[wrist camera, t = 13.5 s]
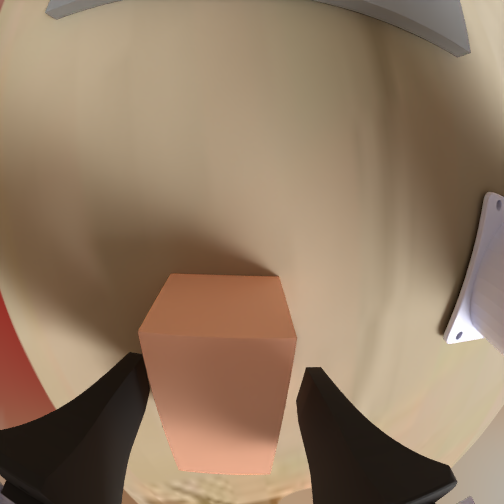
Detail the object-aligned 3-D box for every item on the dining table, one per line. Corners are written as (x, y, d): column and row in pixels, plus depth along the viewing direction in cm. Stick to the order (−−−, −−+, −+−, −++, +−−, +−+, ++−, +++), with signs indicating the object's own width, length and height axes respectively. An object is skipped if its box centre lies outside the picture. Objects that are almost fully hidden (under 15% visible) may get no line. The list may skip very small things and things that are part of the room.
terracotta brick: (278, 274, 10) (297, 338, 7) (264, 411, 13) (270, 474, 9) (172, 271, 10) (137, 331, 6) (189, 408, 13) (179, 470, 9)
